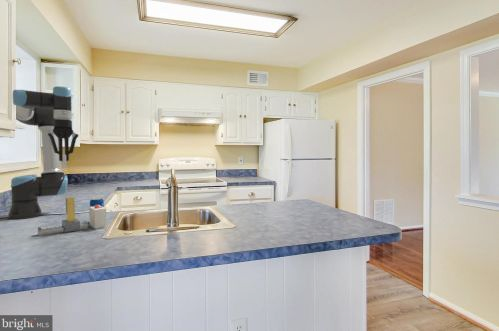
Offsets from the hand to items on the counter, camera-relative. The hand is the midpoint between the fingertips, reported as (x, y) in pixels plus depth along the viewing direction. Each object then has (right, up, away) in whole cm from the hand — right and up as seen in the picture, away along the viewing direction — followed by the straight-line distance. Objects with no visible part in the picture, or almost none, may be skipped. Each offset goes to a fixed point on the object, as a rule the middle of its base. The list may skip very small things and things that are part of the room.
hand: (64, 167), depth 145 cm
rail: (+6, -29, -10) cm, 31 cm away
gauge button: (+17, -26, 0) cm, 31 cm away
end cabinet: (+17, -29, 0) cm, 33 cm away
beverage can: (+11, -28, +10) cm, 32 cm away
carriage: (+8, -29, -8) cm, 31 cm away
